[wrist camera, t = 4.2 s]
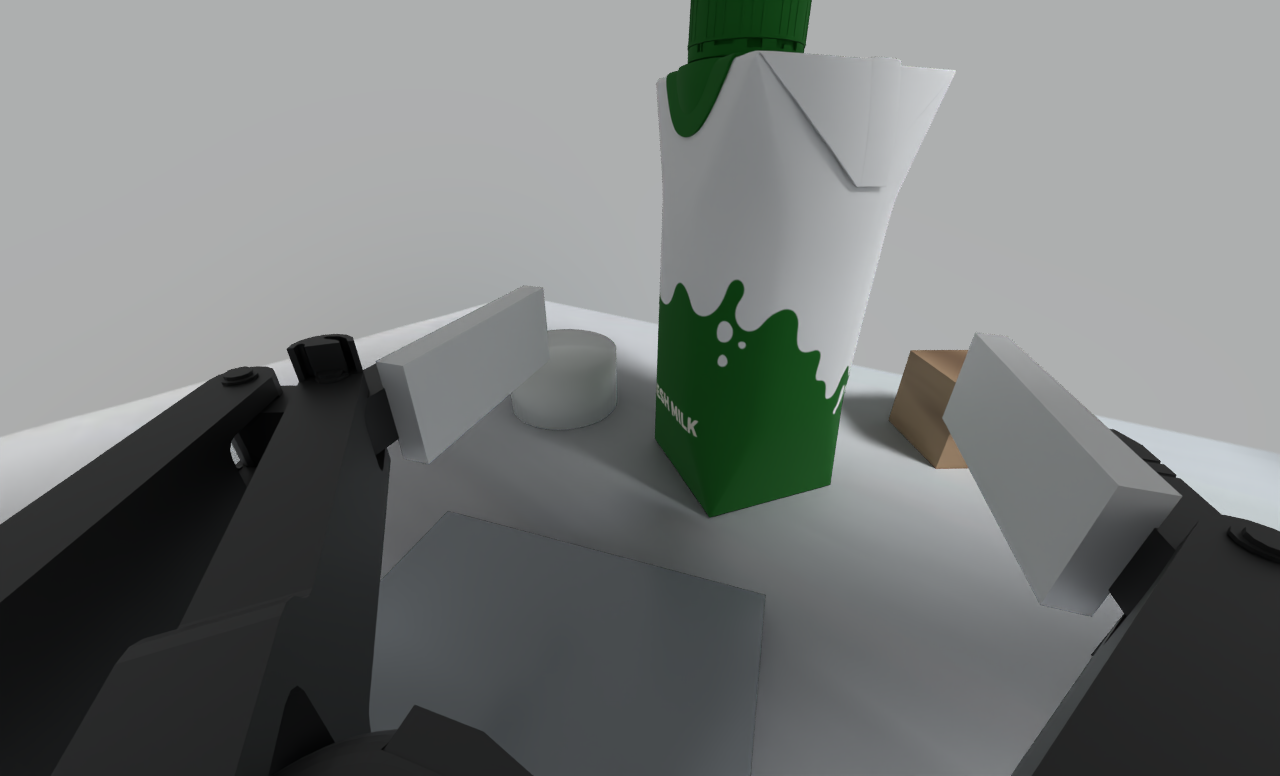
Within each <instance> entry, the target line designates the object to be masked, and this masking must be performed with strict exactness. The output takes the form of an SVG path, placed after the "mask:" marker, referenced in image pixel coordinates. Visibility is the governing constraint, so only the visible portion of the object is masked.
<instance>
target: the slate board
mask: <svg viewBox="0 0 1280 776" xmlns="http://www.w3.org/2000/svg"><path fill="white" fill-rule="evenodd" d="M764 606H765V595H764V594H760V593H757V592H753V591H749V590H745V589H741V588H738V587H734V586H730V585H726V584H723V583H719V582H715V581H711V580H707V579H704V578H700V577H696V576H692V575H689V574H685V573H681V572H677V571H673V570H670V569H666V568H662V567H658V566H654V565H651V564H647V563H643V562H639V561H636V560H632V559H628V558H624V557H620V556H617V555H613V554H609V553H605V552H601V551H598V550H594V549H590V548H586V547H583V546H579V545H575V544H571V543H567V542H564V541H560V540H556V539H552V538H548V537H545V536H541V535H537V534H533V533H530V532H526V531H522V530H518V529H514V528H511V527H507V526H503V525H499V524H495V523H492V522H488V521H484V520H480V519H477V518H473V517H469V516H465V515H461V514H458V513H454V512H450V511H448V512H447V513H446V514H445V515H444V516H443V517H442V518H441V519H440V520H439V521H438V522H437V523H436V524H435V525H434V526H433V527H432V528H431V529H430V530H429V531H428V532H427V533H426V534H425V536H424V537H423V538H422V539H421V540H420V541H419V542H418V543H417V544H416V545H415V546H414V547H413V548H412V549H411V550H410V551H409V552H408V553H407V554H406V555H405V556H404V557H403V558H402V559H401V560H400V561H399V562H398V563H397V564H396V566H395V567H394V568H393V569H392V570H391V571H390V572H389V573H388V574H387V575H386V576H385V577H384V578H383V579H382V580H381V581H380V587H379V598H378V610H377V621H376V633H375V644H374V656H373V667H372V679H371V690H370V702H369V719H370V728H371V732H375V731H384V730H393V729H398V728H399V726H400V725H401V724H402V722H403V721H404V719H405V718H406V716H407V715H408V713H409V712H410V710H411V709H412V707H413V706H414V705H417V706H420V707H422V708H425V709H428V710H430V711H433V712H435V713H438V714H440V715H443V716H445V717H448V718H450V719H453V720H456V721H458V722H461V723H463V724H466V725H468V726H471V727H473V728H476V729H478V730H481V731H483V732H485V733H486V734H487V735H488V736H489V737H490V738H491V739H493V740H494V741H495V742H496V743H497V744H498V745H499V746H500V747H502V748H503V749H504V750H505V751H506V752H507V753H508V754H509V755H511V756H512V757H513V758H514V759H515V760H516V761H517V762H518V763H520V764H521V765H522V766H523V767H524V768H525V769H526V770H527V771H529V772H530V773H531V774H532V775H533V776H751V764H752V752H753V740H754V727H755V715H756V703H757V691H758V679H759V667H760V654H761V642H762V630H763V618H764Z"/></svg>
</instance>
